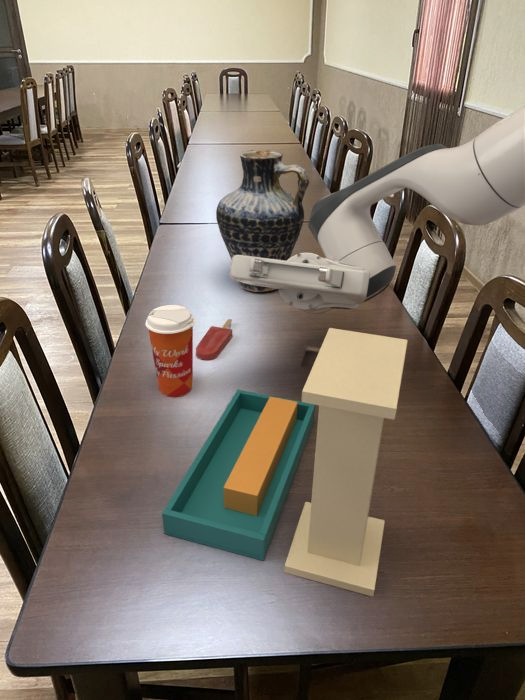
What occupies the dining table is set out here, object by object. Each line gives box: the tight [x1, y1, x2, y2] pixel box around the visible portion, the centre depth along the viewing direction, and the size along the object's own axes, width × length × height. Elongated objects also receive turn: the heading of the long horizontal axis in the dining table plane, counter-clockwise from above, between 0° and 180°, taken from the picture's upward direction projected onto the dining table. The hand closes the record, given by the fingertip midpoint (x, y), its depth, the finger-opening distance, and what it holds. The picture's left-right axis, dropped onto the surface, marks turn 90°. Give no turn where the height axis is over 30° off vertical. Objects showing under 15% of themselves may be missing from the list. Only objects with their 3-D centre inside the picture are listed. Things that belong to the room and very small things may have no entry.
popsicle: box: [195, 318, 233, 361], centre depth 105 cm, size 4×2×15 cm
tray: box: [161, 389, 316, 562], centre depth 73 cm, size 27×13×4 cm, turn 163°
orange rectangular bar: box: [224, 396, 298, 516], centre depth 75 cm, size 20×4×4 cm, turn 163°
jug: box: [215, 149, 310, 293], centre depth 121 cm, size 21×19×30 cm
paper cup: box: [145, 304, 196, 398], centre depth 88 cm, size 8×8×14 cm
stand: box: [283, 327, 408, 598], centre depth 57 cm, size 12×10×26 cm
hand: (289, 269), depth 71 cm, fingers open, 8 cm apart
